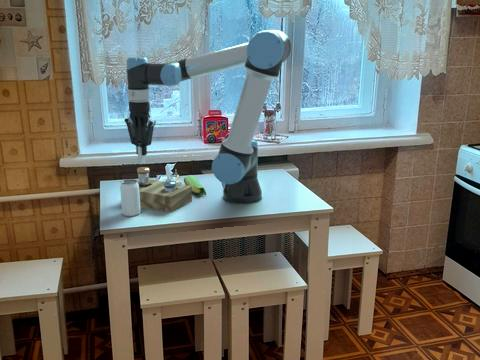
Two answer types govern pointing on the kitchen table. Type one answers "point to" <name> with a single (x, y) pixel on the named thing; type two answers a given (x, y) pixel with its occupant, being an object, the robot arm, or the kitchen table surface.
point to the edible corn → (194, 185)
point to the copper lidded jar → (143, 176)
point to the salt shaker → (170, 186)
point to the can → (130, 197)
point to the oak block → (164, 196)
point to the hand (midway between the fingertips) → (142, 163)
